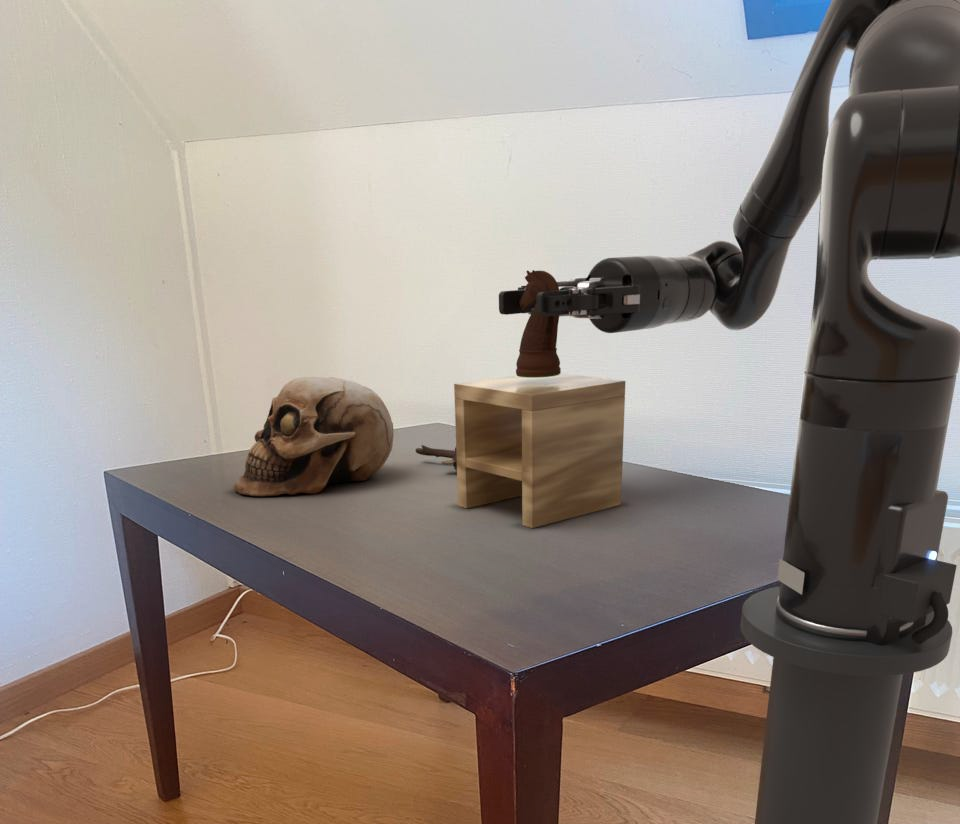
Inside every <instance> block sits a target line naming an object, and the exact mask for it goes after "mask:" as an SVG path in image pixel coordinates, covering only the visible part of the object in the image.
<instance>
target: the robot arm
mask: <svg viewBox="0 0 960 824" xmlns="http://www.w3.org/2000/svg"><path fill="white" fill-rule="evenodd" d="M846 51H850V52H851V53H853V55H852V58H851V63H850V67H849V68H850V69H849V77H848V98H846V99H845V100H844V101H843V102H842V103H841V104H840V106H839V107H838V109H837V110H836V112H835V115H834V117H833V118H832V121H831V124H830V125H829V122H830V118H829V117H830V115H829V114H830V101H831V94H832V87H833V83H834V79H835V76H836V72H837V69H838V67H839V65H840V62H841V60H842V58H843V55H844V53H845V52H846ZM819 197H820V198H819ZM818 199H819V211H818V212H819V213H818V214H819V215H818V216H819V217H818V229H817V230H818V231H817V248H816V266H815V267H816V268H815V279H814V292H813V300H812V309H811V318H810V325H809V333H808V340H807V347H806V354H805V362H804V370H805V371H804V372H803V377H802V378H803V379H802V387H801V394H800V395H801V396H800V404H799V414H798V420H797V421H798V422H797V431H796V438H795V447H794V448H795V449H794V457H793V467H792V476H791V485H790V486H791V487H790V494H789V501H788V503H789V504H788V509H787V511H788V512H787V520H786V530H785V537H784V546H783V557H782V558H779V561H778V570H777V581H779V586H780V593H779V596H778V598H777V606H776V612H777V615H778V616H779V617H780V618H781V619H782V620H783V621H784V622H786V623H787V624H789V625H791V626H793V627H795V628H797V629H799V630H802V631H805V632H808V633H811V634H815V635H819V636H823V637H828V638H834V639H841V640H853V641H865V642H869V643H873V644H876V645H885V644H887V643H889V642H891V641H893V640H895V639H897V638H899V637H901V636H903V635H905V634H907V633H909V632H910V631H912V630H914V629H916V628H918V627H920V626H922V625H923V624H925V623H926V618H927V615H928V614H929V613H931V612H933V611H934V618H933V620H932V621H931V622H930V623H929V624H928V625H927V626H925V627H923V628H921V629H920V630H918V631H916V632H915V633H914V634H912V639H913V640H914V641H915V642H916V643H918V644H922V643H923V642H924V641H926V640H928V639H929V638H931V637H933V636H935V635H936V634H938V633H939V632H940V631H941V630H942V629H943V628H944V627H945V625H946V623H947V620H948V619H949V609H948V605H949V604H950V603H951V597H952V592H953V586H954V583H955V582H954V581H955V576H956V573H957V567H958V565H957V564H955V563H954V564H953V563H950V562H945V561H941V560H938V557H939V556H938V555H939V552H940V551H939V550H940V545H941V541H942V540H941V539H942V535H943V530H944V529H943V528H944V524H945V518H946V512H947V508H948V507H947V506H948V502H949V494H948V493H947V492H946V491H944V490H940V489H938V484H939V478H940V472H941V466H942V460H943V456H944V455H943V454H944V451H945V450H944V449H945V444H946V443H945V442H946V437H947V432H948V425H949V421H950V415H951V409H952V403H953V399H954V398H953V397H954V393H955V386H956V381H957V374H958V373H959V369H960V368H959V366H960V330H959V329H958V328H957V327H955V326H954V325H952V324H950V323H947V322H946V321H943V320H940V319H937V318H933V317H930V316H929V315H925V314H922V313H919V312H916V311H914V310H911V309H909V308H907V307H904V306H903V305H901V304H899V303H897V302H895V301H894V300H892V299H891V298H890V297H888V296H886V295H885V294H884V293H882V292H881V290H879V289H878V288H877V287H876V286H875V285H874V283H873V282H872V281H871V280H870V277H869V274H868V268H869V267H868V266H869V264H870V263H871V261H891V260H892V261H893V260H894V261H895V260H896V261H898V260H930V259H933V260H935V259H936V260H937V259H938V260H941V259H942V260H943V259H950V258H952V259H953V258H958V257H960V0H831V1H830V4H829V7H828V9H827V11H826V12H825V16H824V17H823V20H822V22H821V24H820V27H819V29H818V31H817V34H816V36H815V39H814V40H813V43H812V45H811V48H810V50H809V52H808V54H807V57H806V59H805V62H804V63H803V66H802V69H801V71H800V73H799V76H798V79H797V81H796V84H795V86H794V88H793V91H792V93H791V95H790V98H789V100H788V102H787V105H786V108H785V110H784V113H783V115H782V118H781V121H780V123H779V126H778V128H777V131H776V133H775V135H774V138H773V140H772V142H771V144H770V147H769V149H768V151H767V153H766V155H765V158H764V159H763V161H762V163H761V165H760V167H759V168H758V171H757V172H756V174H755V176H754V178H753V180H752V182H751V184H750V185H749V187H748V189H747V191H746V193H745V195H744V196H743V199H742V200H741V202H740V204H739V205H738V208H737V210H736V211H735V214H734V216H733V219H732V222H731V224H732V225H731V229H732V234H733V236H734V238H735V240H736V242H737V244H738V245H737V244H736V243H733V242H730V241H728V240H723V239H721V240H720V239H718V240H715V241H711V242H709V243H707V244H706V245H705V246H703V247H701V248H699V249H697V250H695V251H693V252H690V253H688V254H686V255H684V256H683V255H682V256H680V255H679V256H667V257H666V256H659V255H638V256H637V255H635V256H619V257H616V256H615V257H607V258H603V259H601V260H600V261H598V262H597V263H596V264H595V265H594V266H593V267H592V268H591V270H590V271H589V273H588V274H587V276H585V277H583V276H582V277H571V278H569V279H568V280H556V282H557V284H558V287H559V291H548V292H539V293H538V294H537V315H538V316H543V317H546V316H556V315H559V317H570V318H574V319H589V321H590V322H591V324H592V325H593V326H594V327H595V328H597V330H599V331H601V332H603V333H606V334H616V333H626V332H634V331H641V330H649V329H656V328H658V327H662V326H664V325H671V324H678V323H687V322H692V321H695V320H698V319H700V318H702V317H703V316H705V315H706V314H707V313H708V312H710V313H711V314H712V316H714V318H715V319H716V320H717V321H718V322H719V323H720V324H721V326H723V327H724V328H726V329H727V330H730V331H736V332H737V331H742V330H743V331H744V330H746V329H748V328H750V327H752V326H753V325H755V324H756V323H758V322H759V321H760V320H761V319H762V318H763V317H764V315H765V314H766V313H767V311H768V310H769V308H770V307H771V306H772V303H773V301H774V299H775V296H776V293H777V290H778V288H779V285H780V280H781V278H782V277H781V276H782V275H783V271H784V267H785V264H786V260H787V258H788V254H789V250H790V248H791V246H792V245H791V244H792V242H793V240H794V238H795V237H796V235H797V234H798V232H799V231H800V229H801V227H802V225H803V224H804V222H805V220H806V219H807V217H808V216H809V214H810V212H811V211H812V209H813V207H814V206H815V204H816V202H817V201H818ZM525 289H526V285H521V286H519V287H517V289H513V290H502V291H500V292H499V293H498V311H499V314H500V315H506V316H508V315H519V314H527V315H531V313H532V311H533V309H534V307H535V305H536V303H535V304H533V305H532V306H531V307H530V308H529V309H528V310H527V311H523V310H522V309H521V307H520V304H519V301H520V299H521V298H522V296H523V294H524V292H525ZM948 621H949V620H948Z"/></svg>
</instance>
